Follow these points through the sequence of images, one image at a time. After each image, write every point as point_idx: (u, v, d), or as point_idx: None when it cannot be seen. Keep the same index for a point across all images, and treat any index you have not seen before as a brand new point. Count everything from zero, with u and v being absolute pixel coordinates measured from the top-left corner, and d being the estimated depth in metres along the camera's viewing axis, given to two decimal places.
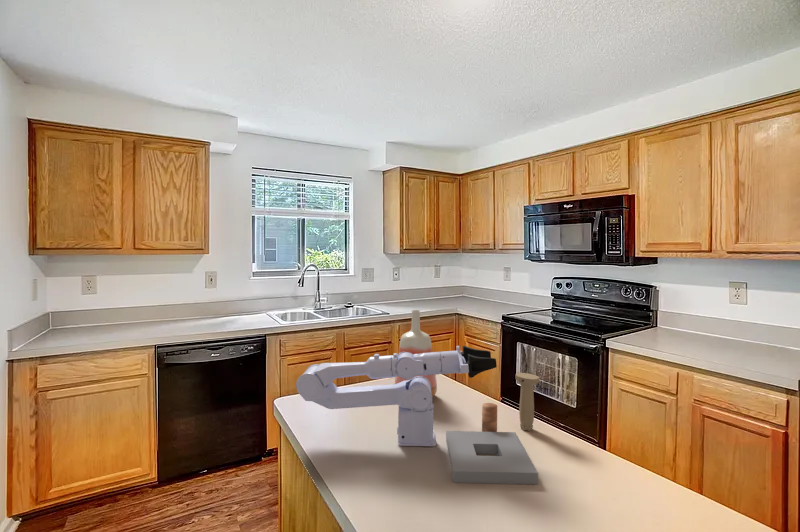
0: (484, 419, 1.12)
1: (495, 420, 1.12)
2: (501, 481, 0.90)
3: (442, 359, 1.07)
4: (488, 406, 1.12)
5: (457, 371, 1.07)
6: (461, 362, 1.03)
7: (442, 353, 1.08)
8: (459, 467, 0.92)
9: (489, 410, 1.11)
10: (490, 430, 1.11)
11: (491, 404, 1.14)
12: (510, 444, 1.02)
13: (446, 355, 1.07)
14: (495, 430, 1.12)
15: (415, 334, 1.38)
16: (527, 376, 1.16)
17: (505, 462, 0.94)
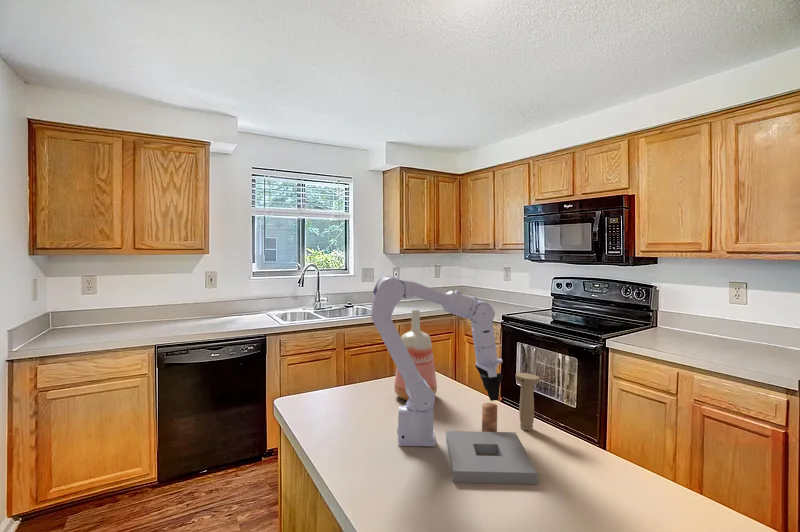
0: (484, 419, 1.12)
1: (495, 420, 1.12)
2: (501, 481, 0.90)
3: (492, 348, 1.09)
4: (488, 406, 1.12)
5: (480, 362, 1.10)
6: (495, 368, 1.07)
7: (495, 346, 1.11)
8: (459, 467, 0.92)
9: (489, 410, 1.11)
10: (490, 430, 1.11)
11: (491, 404, 1.14)
12: (510, 444, 1.02)
13: (495, 351, 1.10)
14: (495, 430, 1.12)
15: (415, 334, 1.38)
16: (527, 376, 1.16)
17: (505, 462, 0.94)
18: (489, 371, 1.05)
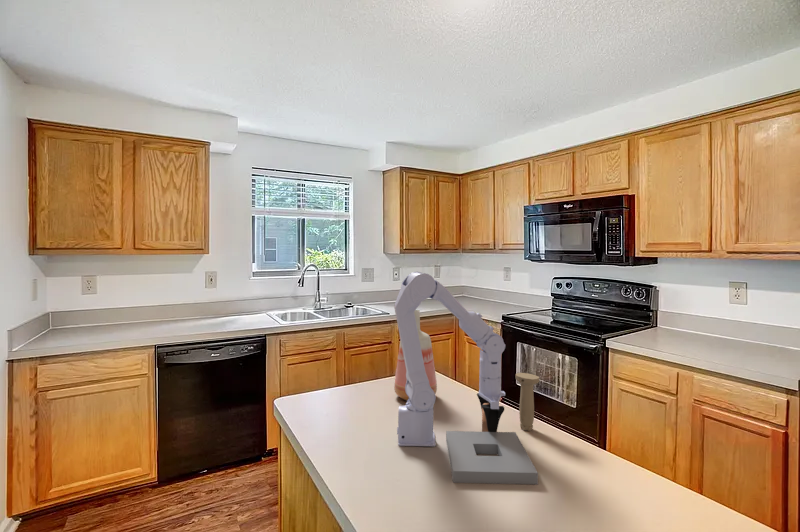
0: (484, 419, 1.12)
1: None
2: (501, 481, 0.90)
3: (497, 380, 1.10)
4: None
5: (483, 392, 1.11)
6: (498, 401, 1.07)
7: (500, 379, 1.12)
8: (459, 467, 0.92)
9: None
10: None
11: None
12: (510, 444, 1.02)
13: (499, 383, 1.11)
14: None
15: None
16: (527, 376, 1.16)
17: (505, 462, 0.94)
18: (492, 403, 1.06)
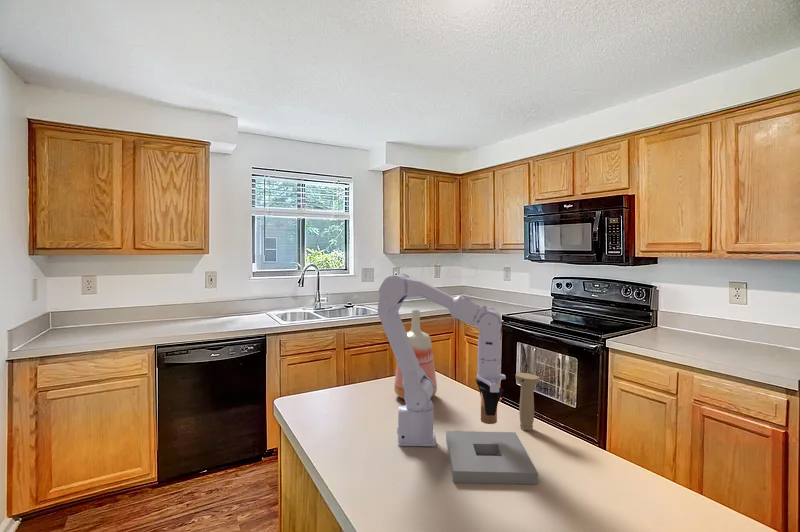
0: (483, 404, 1.04)
1: None
2: (501, 481, 0.90)
3: (497, 361, 1.02)
4: None
5: (482, 375, 1.03)
6: (498, 383, 0.99)
7: (500, 361, 1.04)
8: (459, 467, 0.92)
9: None
10: (490, 416, 1.03)
11: None
12: (510, 444, 1.02)
13: (499, 365, 1.03)
14: (495, 416, 1.04)
15: (415, 334, 1.38)
16: (527, 376, 1.16)
17: (505, 462, 0.94)
18: (492, 385, 0.98)
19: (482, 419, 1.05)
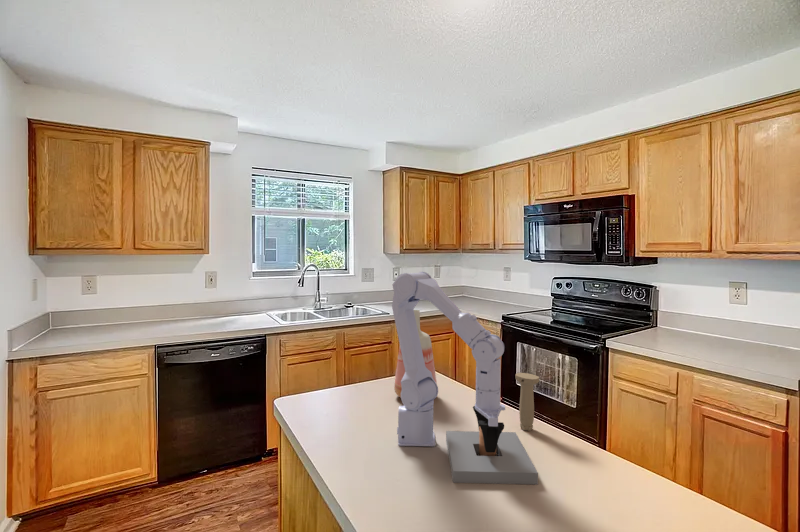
0: (481, 443, 0.98)
1: None
2: (501, 481, 0.90)
3: (496, 392, 0.97)
4: None
5: (480, 406, 0.97)
6: (497, 416, 0.94)
7: None
8: (459, 467, 0.92)
9: None
10: None
11: None
12: (510, 444, 1.02)
13: (498, 396, 0.97)
14: (494, 455, 0.98)
15: None
16: (527, 376, 1.16)
17: (505, 462, 0.94)
18: (490, 419, 0.92)
19: None
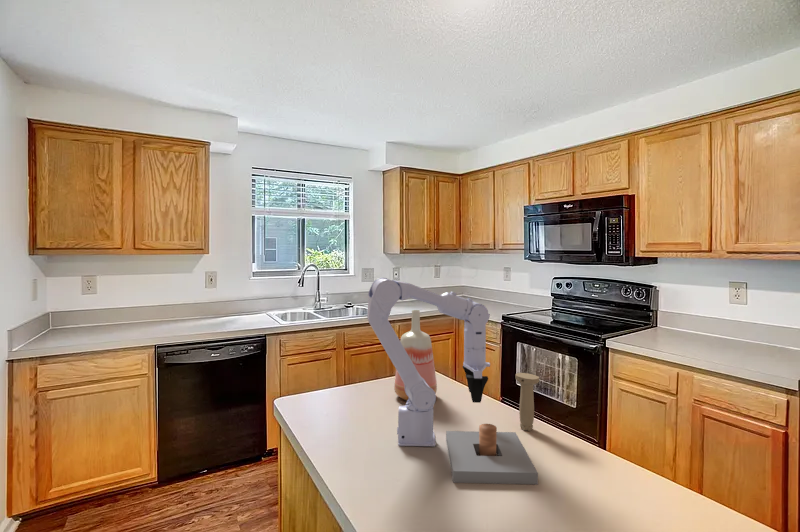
0: (481, 443, 0.98)
1: (494, 444, 0.98)
2: (501, 481, 0.90)
3: (481, 350, 1.10)
4: (486, 428, 0.99)
5: (468, 363, 1.11)
6: (482, 370, 1.07)
7: (485, 349, 1.11)
8: (459, 467, 0.92)
9: (488, 433, 0.97)
10: None
11: (489, 425, 1.00)
12: (510, 444, 1.02)
13: (484, 353, 1.10)
14: (494, 455, 0.98)
15: (415, 334, 1.38)
16: (527, 377, 1.16)
17: (505, 462, 0.94)
18: (475, 372, 1.05)
19: None
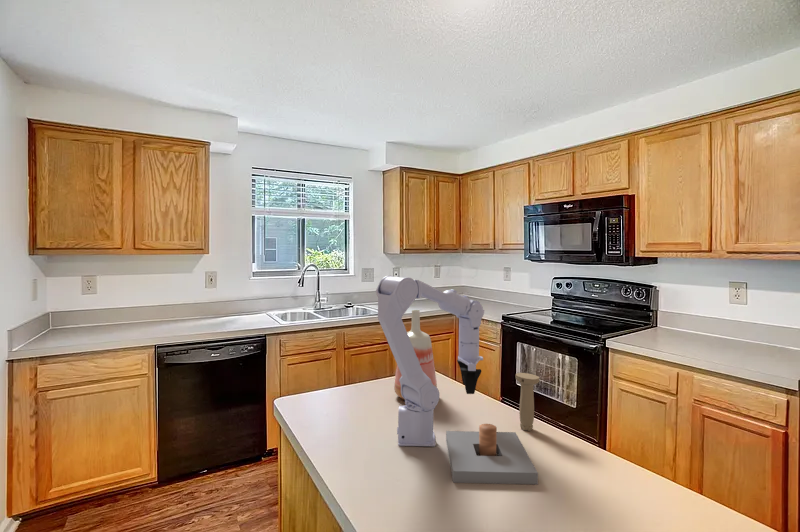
0: (481, 443, 0.98)
1: (494, 444, 0.98)
2: (501, 481, 0.90)
3: (475, 344, 1.16)
4: (486, 428, 0.99)
5: (462, 357, 1.17)
6: (475, 363, 1.13)
7: (478, 344, 1.18)
8: (459, 467, 0.92)
9: (488, 433, 0.97)
10: None
11: (489, 425, 1.00)
12: (510, 444, 1.02)
13: (477, 348, 1.17)
14: (494, 455, 0.98)
15: (415, 334, 1.38)
16: (527, 376, 1.16)
17: (505, 462, 0.94)
18: (469, 365, 1.12)
19: None
